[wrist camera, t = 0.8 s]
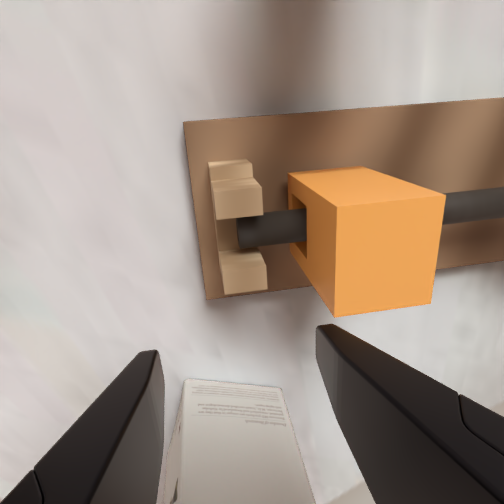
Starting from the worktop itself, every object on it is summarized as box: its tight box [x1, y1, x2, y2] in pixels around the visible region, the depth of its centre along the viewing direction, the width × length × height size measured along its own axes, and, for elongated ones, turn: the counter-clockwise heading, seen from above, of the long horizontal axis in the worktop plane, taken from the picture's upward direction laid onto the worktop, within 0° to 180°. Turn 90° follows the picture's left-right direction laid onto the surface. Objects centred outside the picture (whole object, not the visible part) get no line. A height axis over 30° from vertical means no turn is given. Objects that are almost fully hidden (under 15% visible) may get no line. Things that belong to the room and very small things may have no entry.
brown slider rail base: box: [183, 97, 504, 300], centre depth 19 cm, size 24×10×6 cm, turn 94°
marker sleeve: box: [288, 166, 446, 318], centre depth 16 cm, size 4×4×7 cm
